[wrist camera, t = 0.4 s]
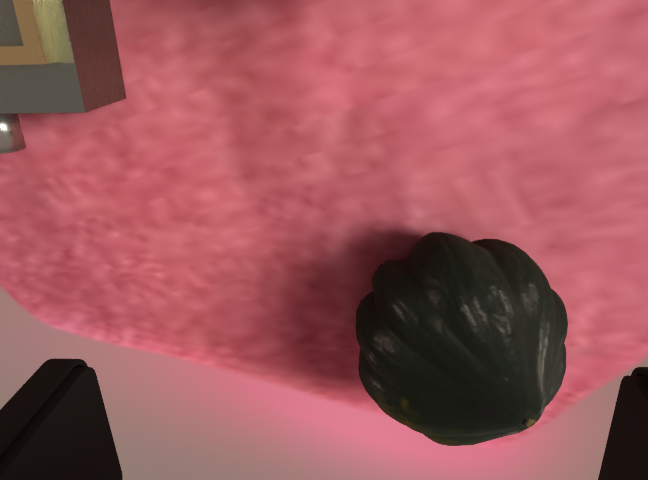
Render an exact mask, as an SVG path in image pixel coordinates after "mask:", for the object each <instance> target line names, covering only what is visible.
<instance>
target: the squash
mask: <svg viewBox="0 0 648 480" xmlns="http://www.w3.org/2000/svg"><path fill="white" fill-rule="evenodd" d="M372 286H373V292H371V293H369V294H368V295H367V296H366V297H365V298H364V299H362V300H361V302H360V304H359V306H358V309H357V312H356V334H357V339H358V342H359V345H360V347H361V349H360V354H359V376H360V379H361V381H362V383H363V385H364V388H365V390H366V391H367V393H368V394H369V395H370V396H371V398H372V399H373V400H374V401H375V402H376V403H377V404H378V406H379V407H380V408H381V409H382V410H383V411H384V412H385V413H386V414H387V415H389V416H390V417H392V418H393V419H395V420H396V421H398V422H400V423H401V424H404V425H406V426H408V427H409V428H411V429H413V430H415V431H417V432H420V433H422V434H424V435H425V436H426V437H428V438H429V439H431V440H432V441H435V442H437V443H439V444H443V445H448V446H460V445H474V444H477V443H481V442H485V441H489V440H492V439H496V438H499V437H503V436H507V435H511V434H515V433H519V432H521V431H523V430H525V429H527V428H529V427H531V426H532V425H534V424H535V423H536V422H537V421H538V420H539V418H540V416H541V415H542V413H543V411H544V409H545V407H546V406H547V405H548V404H549V403H550V402H551V400H552V399H553V398H554V396H555V395H556V393H557V392H558V390H559V388H560V386H561V384H562V381H563V377H564V374H565V370H566V348H565V344H564V342H565V338H566V334H567V327H568V321H567V314H566V309H565V306H564V303H563V301H562V300H561V298H560V297H559V296H558V294H557V293H556V292H555V291H554V290H552V289H551V288H550V285H549V282H548V280H547V278H546V277H545V275H544V273H543V272H542V270H541V269H540V268H539V266H538V265H537V264H536V263H535V262H534V261H533V260H532V259H531V258H530V257H529V256H528V255H527V254H526V253H525V252H524V251H523V250H521V249H520V248H518V247H517V246H515V245H513V244H510V243H508V242H505V241H501V240H498V239H482V240H476V241H473V242H469V241H467V240H465V239H463V238H460V237H458V236H455V235H452V234H447V233H442V232H432V233H429V234H427V235H426V236H424V237H423V238H422V239H421V240H420V241H419V242H418V243H417V244H416V246H415V247H414V248H413V250H412V251H411V253H410V256H409V259H408V261H405V260H388V261H386V262H384V263H383V264H381V265H380V266H379V267H378V268H377V270H376V271H375V272H374V274H373V279H372Z"/></svg>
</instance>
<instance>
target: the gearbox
mask: <svg viewBox="0 0 648 480" xmlns="http://www.w3.org/2000/svg"><path fill="white" fill-rule="evenodd" d="M123 99H126V94H125V88H124V83H123V77H122V71H121V65H120V60H119V54H118V48H117V42H116V37H115V31H114V25H113V19H112V14H111V8H110V2H109V0H0V153H10V152H15V151H20V150H23V149H25V148H26V144H25V141H24V137H23V133H22V129H21V125H20V121H19V117H18V113H82V112H88V111H91V110H94V109H97V108H100V107H102V106H105V105H108V104H111V103H114V102H117V101H120V100H123Z"/></svg>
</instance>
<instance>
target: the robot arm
mask: <svg viewBox="0 0 648 480" xmlns="http://www.w3.org/2000/svg"><path fill="white" fill-rule="evenodd" d="M0 480H122V471H121V467H120V464H119V460H118V456H117V452H116V448H115V445H114V441H113V437H112V433H111V429H110V425H109V422H108V418H107V414H106V410H105V406H104V403H103V399H102V395H101V391H100V387H99V384H98V380H97V376H96V373H95V371H94V369H93V368H90V367H88V366H87V364H86V363H85V361H84V360H81V359H50V360H47V361H46V362H45V363H43V364H42V366H41V367H40V368H39V369H38V370H37V371H36V372H35V373H34V374H33V375H32V376H31V377H30V379H29V380H28V381H27V382H26V383H25V384H24V385H23V386H22V387H21V388H20V389H19V391H17V393H16V394H15V395H14V396H13V397H12V398H11V399H10V400H9V401H8V402H7V403H6V404H5V405H4V407H3V408H2V409H1V410H0ZM598 480H648V367H638V368H635V369H634V370H633V372H632V374H631V376H624V378H623V379H622V381H621V384H620V389H619V393H618V397H617V402H616V406H615V410H614V414H613V419H612V423H611V427H610V431H609V436H608V440H607V444H606V448H605V453H604V457H603V461H602V466H601V470H600V474H599V478H598Z"/></svg>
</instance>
